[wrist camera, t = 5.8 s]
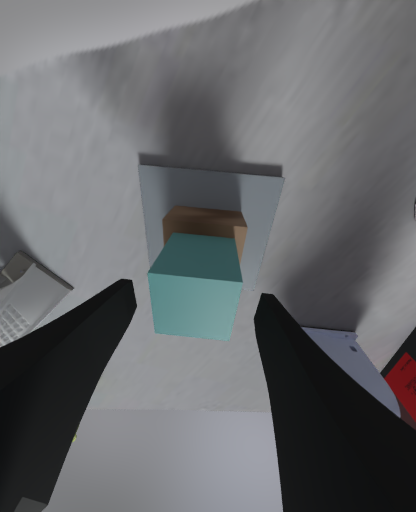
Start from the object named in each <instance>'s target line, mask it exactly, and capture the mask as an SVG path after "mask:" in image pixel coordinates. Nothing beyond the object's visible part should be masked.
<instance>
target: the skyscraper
mask: <svg viewBox="0 0 416 512" xmlns="http://www.w3.org/2000/svg"><path fill="white" fill-rule="evenodd" d="M73 289H74V288H73V287H71V286H70V285H68V284H67V283H66V282H64V281H63V280H61V279H60V278H59V277H57V276H56V275H54V274H53V273H52V272H50V271H49V270H47V269H46V268H45V267H43V266H42V265H40V264H39V263H37V262H36V261H35V260H33V259H32V258H30V257H29V256H28V255H26V254H25V253H23V252H22V251H19V252H17V253H16V254H15V255H14V257H13V258H12V259H11V260H10V262H9V263H8V264H7V265H6V267H5V268H4V269H3V270H2V272H1V273H0V347H2V346H4V345H6V344H8V343H10V342H13V341H15V340H17V339H19V338H21V337H23V336H25V335H27V334H29V333H31V332H32V331H33V330H34V329H35V328H36V327H37V326H38V325H39V324H40V323H41V322H42V321H43V320H44V319H45V318H46V317H47V316H48V315H49V313H50V312H51V311H52V310H53V309H54V308H55V307H56V306H57V305H58V304H59V303H60V302H61V301H62V300H63V299H64V298H65V297H66V296H67V295H68V294H69V293H70V292H71V291H72V290H73Z"/></svg>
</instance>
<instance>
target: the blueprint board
mask: <svg viewBox="0 0 416 512" xmlns="http://www.w3.org/2000/svg"><path fill="white" fill-rule="evenodd" d="M138 170H139V179H140V187H141V196H142V204H143V213H144V221H145V230H146V238H147V247H148V255H149V264H150V268H151V266H152V265H153V263H154V262H155V260H156V259H157V257H158V255H159V254H160V252H161V251H162V249H163V248H164V242H163V226H162V219H163V218H164V217H165V216H166V215H167V214H168V213H169V211H170V210H171V209H172V208H173V207H174V206H175V205H176V206H187V207H197V208H208V209H219V210H230V211H240V212H242V214H243V217H244V219H245V222H246V224H247V227H248V229H247V234H246V239H245V243H244V248H243V253H242V258H241V263H240V269H241V274H242V280H243V285H242V289H241V290H251V291H254V288H255V284H256V280H257V277H258V273H259V270H260V266H261V263H262V259H263V255H264V252H265V248H266V245H267V241H268V237H269V234H270V230H271V227H272V223H273V220H274V216H275V212H276V209H277V205H278V202H279V198H280V195H281V191H282V187H283V184H284V180H285V178H283V177H276V176H265V175H253V174H242V173H231V172H220V171H209V170H197V169H186V168H175V167H164V166H153V165H138Z"/></svg>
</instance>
